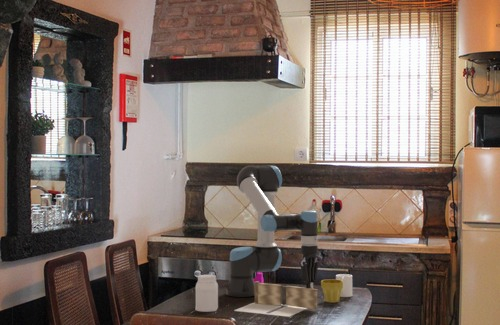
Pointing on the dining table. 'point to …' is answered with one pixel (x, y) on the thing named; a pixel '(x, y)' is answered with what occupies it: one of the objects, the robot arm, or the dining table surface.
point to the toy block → (259, 278)
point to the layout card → (271, 309)
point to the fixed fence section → (267, 293)
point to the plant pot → (332, 289)
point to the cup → (345, 284)
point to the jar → (206, 293)
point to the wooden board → (299, 297)
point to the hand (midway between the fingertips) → (309, 296)
